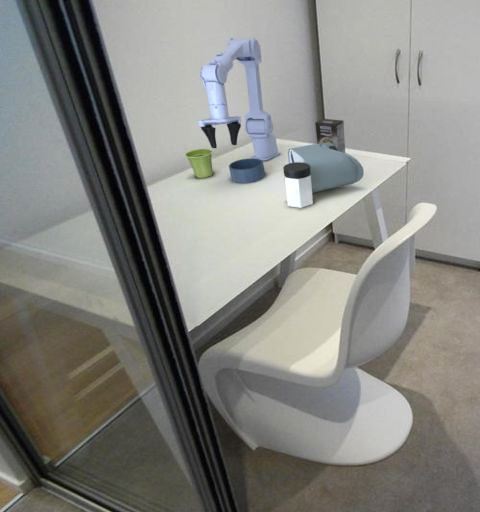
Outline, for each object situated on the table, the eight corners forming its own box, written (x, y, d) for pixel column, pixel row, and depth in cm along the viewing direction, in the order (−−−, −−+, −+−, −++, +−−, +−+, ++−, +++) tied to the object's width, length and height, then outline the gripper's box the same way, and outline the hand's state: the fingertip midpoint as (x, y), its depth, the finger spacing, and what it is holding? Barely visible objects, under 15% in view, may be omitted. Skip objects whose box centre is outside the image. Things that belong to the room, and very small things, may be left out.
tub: (247, 169, 167) (244, 156, 164) (272, 173, 162) (269, 160, 160) (224, 180, 158) (221, 167, 155) (250, 185, 153) (247, 171, 151)
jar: (281, 205, 137) (276, 169, 131) (293, 196, 143) (289, 160, 137) (307, 209, 134) (303, 172, 128) (318, 199, 141) (315, 163, 135)
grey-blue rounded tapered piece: (291, 179, 157) (285, 144, 150) (339, 168, 165) (336, 135, 158) (313, 200, 140) (308, 162, 134) (365, 187, 148) (363, 151, 141)
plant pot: (221, 170, 166) (216, 148, 162) (211, 180, 158) (205, 157, 154) (198, 170, 167) (192, 148, 163) (186, 179, 159) (180, 157, 155)
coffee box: (318, 163, 170) (314, 122, 161) (326, 158, 175) (322, 118, 166) (339, 166, 167) (335, 124, 158) (346, 161, 172) (343, 119, 163)
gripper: (203, 106, 135) (211, 150, 140) (244, 103, 145) (249, 144, 151) (192, 105, 139) (199, 148, 145) (232, 102, 149) (237, 142, 155)
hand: (224, 146), depth 148 cm, fingers open, 7 cm apart
